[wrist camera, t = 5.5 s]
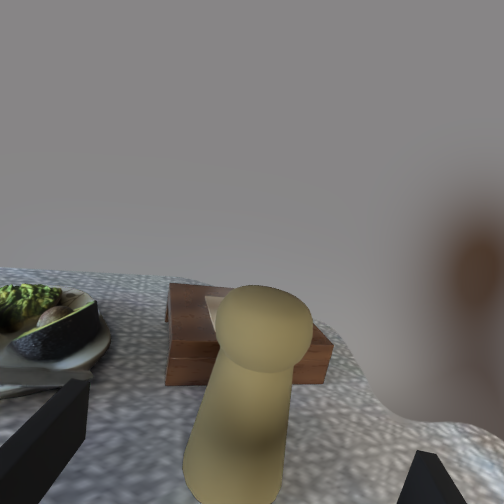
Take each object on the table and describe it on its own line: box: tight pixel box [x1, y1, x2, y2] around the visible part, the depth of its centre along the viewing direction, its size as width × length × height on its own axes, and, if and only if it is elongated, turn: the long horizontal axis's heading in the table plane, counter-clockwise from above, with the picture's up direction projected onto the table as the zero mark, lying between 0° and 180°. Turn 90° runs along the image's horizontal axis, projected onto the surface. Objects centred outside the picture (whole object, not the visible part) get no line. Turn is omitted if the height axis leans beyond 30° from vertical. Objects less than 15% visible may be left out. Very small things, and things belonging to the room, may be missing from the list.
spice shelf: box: [165, 283, 334, 386], centre depth 31 cm, size 12×14×4 cm
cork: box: [182, 285, 313, 504], centre depth 17 cm, size 6×6×11 cm
